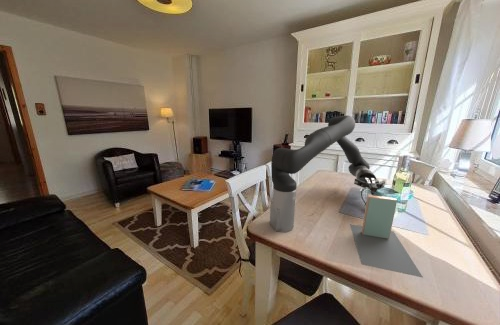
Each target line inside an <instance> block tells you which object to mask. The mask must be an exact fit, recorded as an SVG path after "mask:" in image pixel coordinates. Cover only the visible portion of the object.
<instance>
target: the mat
mask: <svg viewBox="0 0 500 325" xmlns="http://www.w3.org/2000/svg"><path fill="white" fill-rule="evenodd" d="M362 226H363V225H356V224H349V227H350V229H351V233H352V236H353V237H352V238H353V239H354V242H355V246H356V247H355V248H356V249H357V252H358V257H359V259H360V263H361V265H363V266H369V267H372V268H376V269H377V268H378V269H382V270H387V271H392V272H396V273H400V274H401V273H402V274H406V275H410V276H414V277H415V276H416V277H420V278H424V276H423V275H422V273H421V272H420V270H419V269H418V267H417V265H416V264H415V262H414V261H413V259H412V257H411V256H410V255H409V253H408V252H407V250H406V249H405V247H404V245H403V244H402V242H401V241H400V239H399V237H398V236H397V234H396V233H395V231H393V230H391V232H390V237H389V239H386V238H380V237H374V236H368V235H363V234H362Z"/></svg>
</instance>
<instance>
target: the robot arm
mask: <svg viewBox="0 0 500 325" xmlns="http://www.w3.org/2000/svg"><path fill="white" fill-rule="evenodd" d="M355 127H356V120H355V118H354V117H353V116H351V115H340V116H333V117H331V118H330V119H328V122H327V126H325V127H321V128H318V129H316V130H314V131H313V132H310V134H308V135H307V136H306V138H305V139H304V145H303V146H302V147H300V148H298V149H292V148H286V147H278V148H276V149H275V150H274V151H273V153H272V156H271V161H270V162H271V165H270V166H271V167H270V168H271V169H270V170H271V182H272V187H273V188H272V202H271V203H270V206H269V208H270V210H269V225H270V227H272V228H273V229H274V231H275V232H280V233H281V232H283V233H286V232H287V233H288V232H290V231H292V230H293V229H294V226H295V225H294V224H295V212H296V198H297V197H296V196H297V181H296V180H295V179H294V178H293V177H291V175H294V174H297V173H299V172H300V171H301V170H302V169H303V168H304V167H306V165H307V164H309V163H310V162H311V161H312V160H313V159H314V158H315V157H317V156H318V155H319V154H321V153H323V152H324V151H325V150H327V149H328V148H330V146H332V145H333V144H334V143H337V145H339V146H340V148H341V149H342V150H343V152H344V155H345V156H346V157H345V158H346V159H347V162H348V163H349V166H348V172H349V173H350V175H352V176H353V177H356V178H354V182H353V184H354V185H357V186H358V187H360V188H363V189H368V190H369V191H370V192H372V193H377V192H378V190H381V189H383V188H385V186H386V181H385V180H379V179H377V176H376V175H375V174H374V172H373V171H371V170H370V168H371V167H370V164H369V163H368V161H367V160H366V159H364V157H363V156H362V155H361V152H360V150H359V148H358V146H357V145H356V144H355V143H354V142H352V141H351V140H350V139H349V138H347V137H346V136H348V135H350V134H352V132H353V131H354V129H355Z"/></svg>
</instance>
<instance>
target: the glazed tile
mask: <svg viewBox="0 0 500 325" xmlns="http://www.w3.org/2000/svg"><path fill="white" fill-rule="evenodd" d="M397 203H398V199H397V198H395V197H387V196H381V195H371V194H367V197H366V203H365V208H364V209H365V210H364V215H363V220H362V221H363V222H362V225H361V226H362V234H363V235H368V236H374V237H380V238H386V239H389V237H390V232H391V231H392V228H393V223H394V218H395V212H396V207H397Z"/></svg>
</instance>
